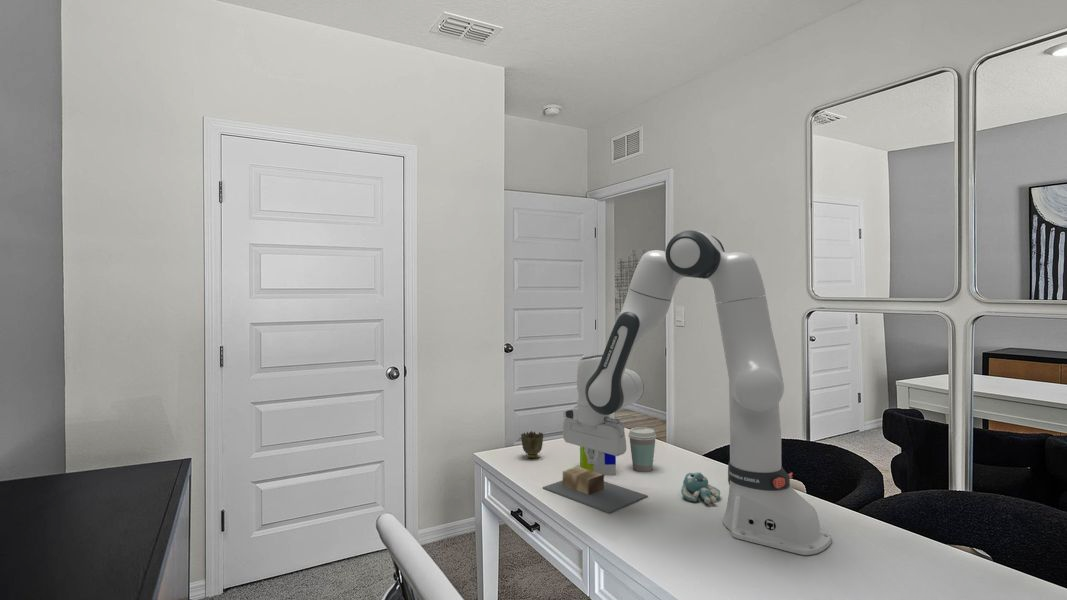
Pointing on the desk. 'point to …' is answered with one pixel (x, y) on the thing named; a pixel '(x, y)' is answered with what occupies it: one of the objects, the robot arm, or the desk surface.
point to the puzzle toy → (605, 466)
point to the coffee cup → (642, 448)
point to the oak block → (583, 480)
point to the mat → (599, 496)
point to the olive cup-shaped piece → (532, 444)
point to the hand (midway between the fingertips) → (593, 464)
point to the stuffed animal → (699, 488)
